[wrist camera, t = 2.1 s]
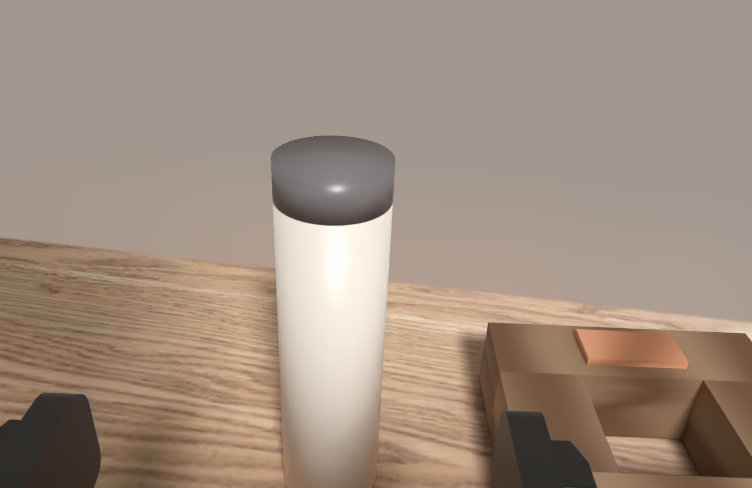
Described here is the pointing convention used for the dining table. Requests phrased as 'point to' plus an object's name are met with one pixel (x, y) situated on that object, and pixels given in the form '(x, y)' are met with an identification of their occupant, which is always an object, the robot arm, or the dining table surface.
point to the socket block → (629, 394)
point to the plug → (331, 304)
